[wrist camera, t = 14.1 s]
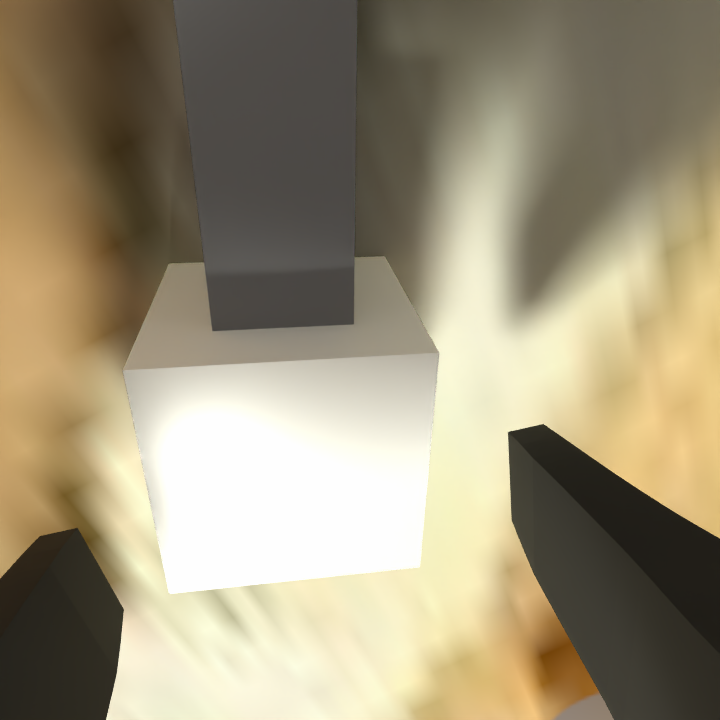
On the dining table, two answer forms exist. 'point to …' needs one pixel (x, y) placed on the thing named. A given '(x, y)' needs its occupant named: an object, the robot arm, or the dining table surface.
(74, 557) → the robot arm
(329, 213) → the plug
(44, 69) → the dining table surface
